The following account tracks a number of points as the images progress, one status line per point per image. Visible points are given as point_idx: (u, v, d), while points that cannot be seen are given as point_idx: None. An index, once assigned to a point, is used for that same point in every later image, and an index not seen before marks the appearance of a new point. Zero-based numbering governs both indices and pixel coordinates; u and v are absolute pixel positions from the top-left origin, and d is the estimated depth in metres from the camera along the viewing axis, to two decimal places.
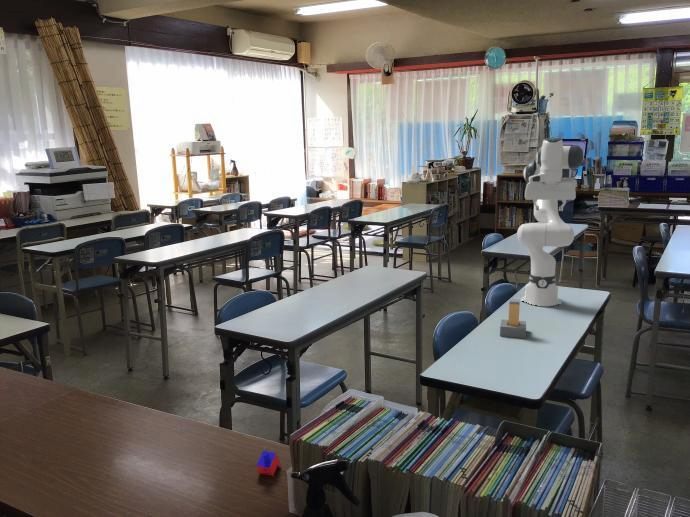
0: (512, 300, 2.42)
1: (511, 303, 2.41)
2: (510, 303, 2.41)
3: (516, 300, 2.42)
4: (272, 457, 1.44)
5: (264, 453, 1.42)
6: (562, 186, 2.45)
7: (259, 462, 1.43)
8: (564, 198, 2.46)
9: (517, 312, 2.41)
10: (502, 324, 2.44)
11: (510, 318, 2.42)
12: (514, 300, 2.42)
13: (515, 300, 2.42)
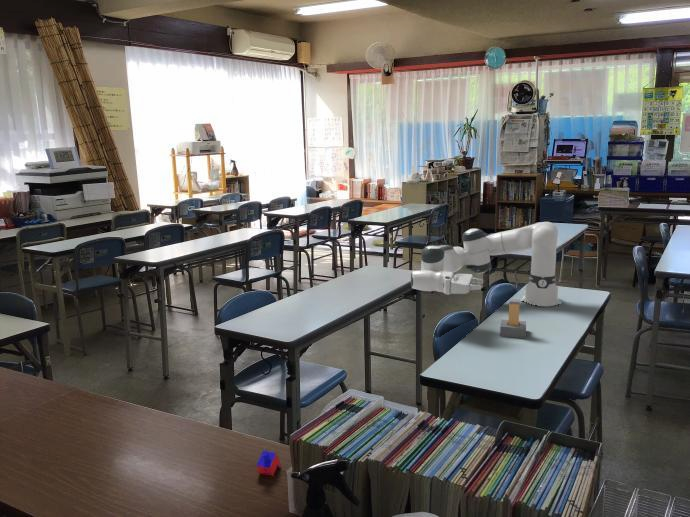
0: (512, 300, 2.42)
1: (511, 303, 2.41)
2: (510, 303, 2.41)
3: (516, 300, 2.42)
4: (272, 457, 1.44)
5: (264, 453, 1.42)
6: (458, 275, 2.52)
7: (259, 462, 1.43)
8: (470, 276, 2.51)
9: (517, 312, 2.41)
10: (502, 324, 2.44)
11: (510, 318, 2.42)
12: (514, 300, 2.42)
13: (515, 300, 2.42)
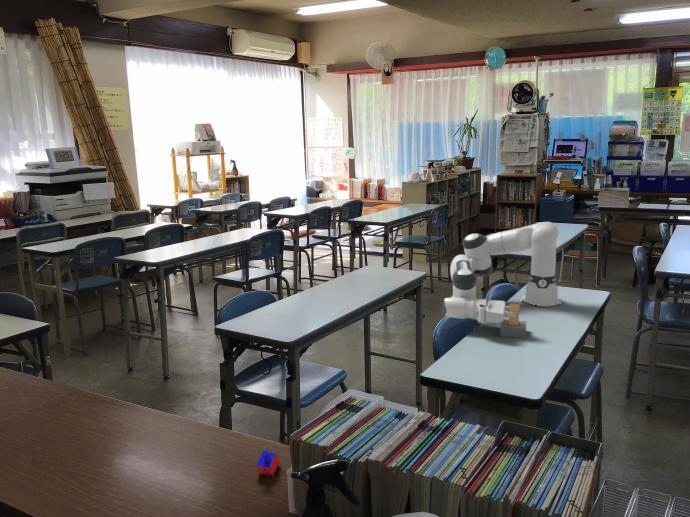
0: (512, 300, 2.42)
1: (511, 303, 2.41)
2: (510, 303, 2.41)
3: (516, 300, 2.42)
4: (272, 457, 1.44)
5: (264, 453, 1.42)
6: (491, 303, 2.50)
7: (259, 462, 1.43)
8: (503, 303, 2.50)
9: (517, 312, 2.41)
10: (502, 324, 2.44)
11: (510, 318, 2.42)
12: (514, 300, 2.42)
13: (515, 300, 2.42)
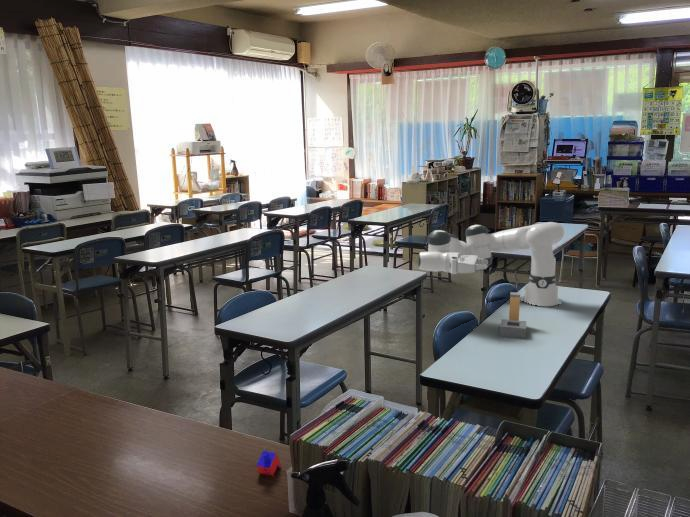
0: (513, 293, 2.53)
1: (512, 296, 2.51)
2: (511, 296, 2.51)
3: (516, 293, 2.53)
4: (272, 457, 1.44)
5: (264, 453, 1.42)
6: (464, 256, 2.61)
7: (259, 462, 1.43)
8: (475, 257, 2.60)
9: (518, 305, 2.51)
10: (502, 324, 2.44)
11: (511, 310, 2.53)
12: (515, 293, 2.52)
13: (516, 293, 2.53)
